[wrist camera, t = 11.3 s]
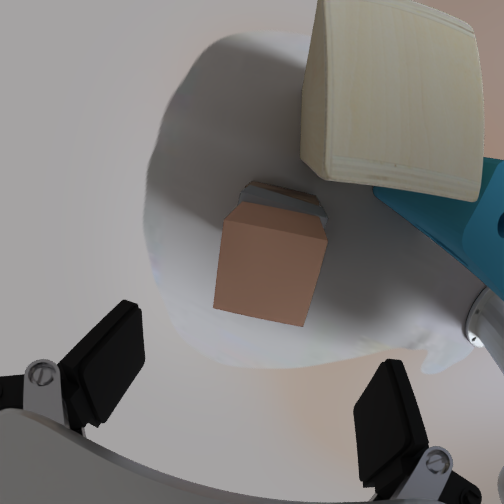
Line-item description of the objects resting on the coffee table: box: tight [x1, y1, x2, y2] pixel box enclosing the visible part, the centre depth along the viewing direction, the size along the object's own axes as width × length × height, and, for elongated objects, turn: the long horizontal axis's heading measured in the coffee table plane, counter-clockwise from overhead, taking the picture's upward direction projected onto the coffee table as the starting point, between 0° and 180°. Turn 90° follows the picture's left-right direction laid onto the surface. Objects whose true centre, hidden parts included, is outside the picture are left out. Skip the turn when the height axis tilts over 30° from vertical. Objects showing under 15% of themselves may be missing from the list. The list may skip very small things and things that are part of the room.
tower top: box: [237, 185, 328, 229], centre depth 24 cm, size 7×7×4 cm
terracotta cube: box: [213, 201, 328, 327], centre depth 19 cm, size 6×6×6 cm
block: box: [373, 157, 504, 301], centre depth 18 cm, size 12×5×20 cm, turn 61°
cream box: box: [300, 0, 484, 202], centre depth 16 cm, size 8×7×21 cm
